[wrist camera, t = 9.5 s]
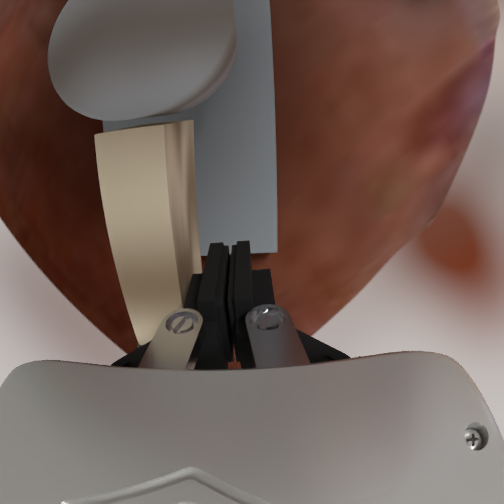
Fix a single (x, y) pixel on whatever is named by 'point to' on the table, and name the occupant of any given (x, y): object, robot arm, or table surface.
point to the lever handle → (145, 130)
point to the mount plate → (236, 142)
